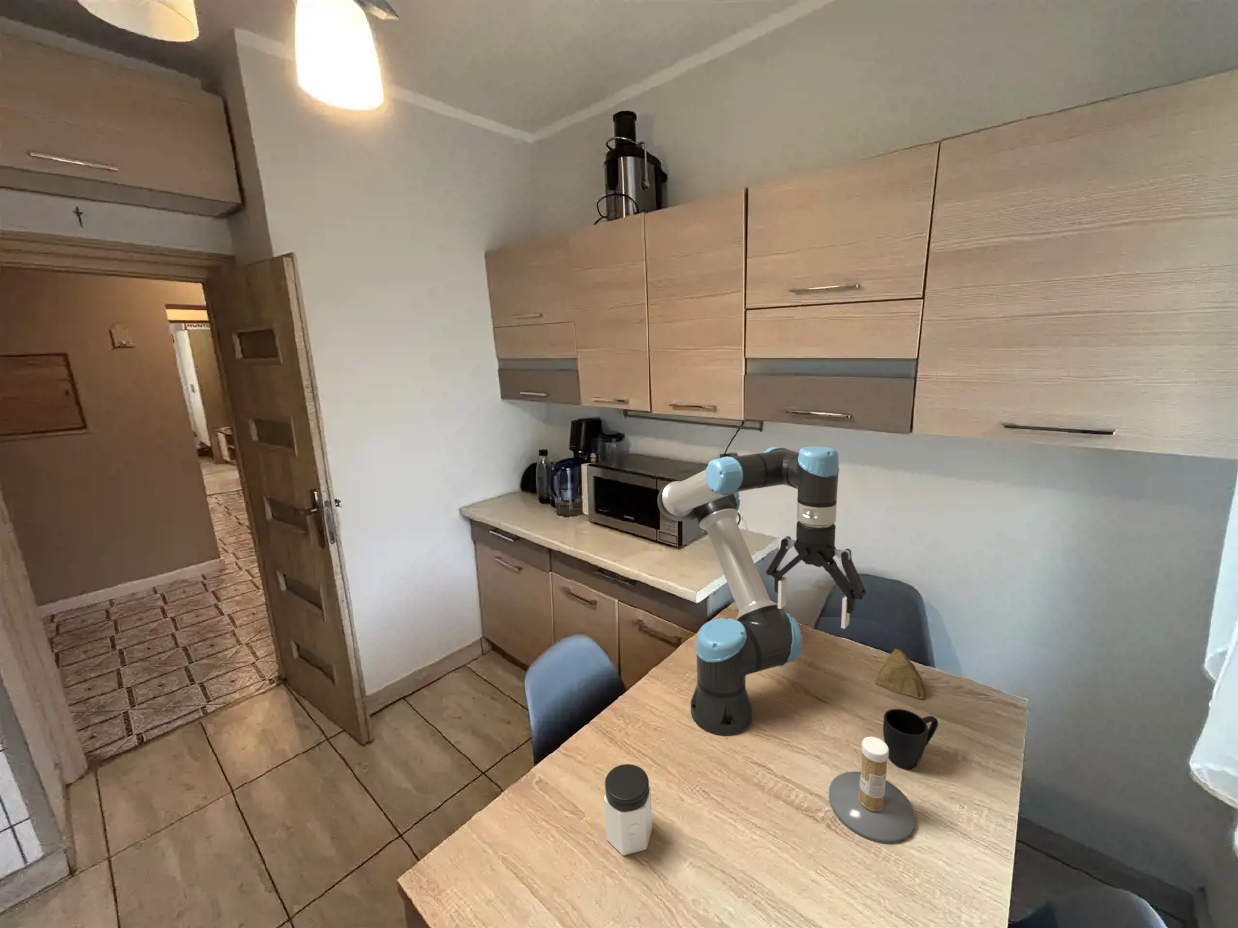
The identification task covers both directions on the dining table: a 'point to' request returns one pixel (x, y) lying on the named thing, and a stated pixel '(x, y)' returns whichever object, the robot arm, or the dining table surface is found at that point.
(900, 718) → the mug
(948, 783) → the dining table surface
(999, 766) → the dining table surface
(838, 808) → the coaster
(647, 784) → the jar
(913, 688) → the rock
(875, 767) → the sprinkles bottle
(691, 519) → the robot arm
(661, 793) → the dining table surface
